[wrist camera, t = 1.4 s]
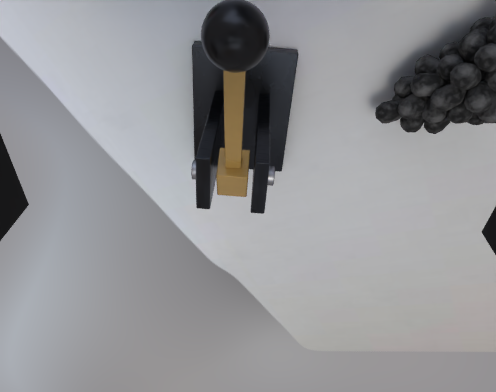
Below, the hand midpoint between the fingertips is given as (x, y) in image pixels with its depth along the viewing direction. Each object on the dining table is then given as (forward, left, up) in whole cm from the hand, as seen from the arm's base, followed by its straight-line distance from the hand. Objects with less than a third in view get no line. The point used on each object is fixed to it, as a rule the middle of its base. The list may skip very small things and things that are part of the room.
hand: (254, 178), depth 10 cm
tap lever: (+4, -1, -14) cm, 15 cm away
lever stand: (+10, -1, -26) cm, 28 cm away
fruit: (+4, +17, -27) cm, 32 cm away
